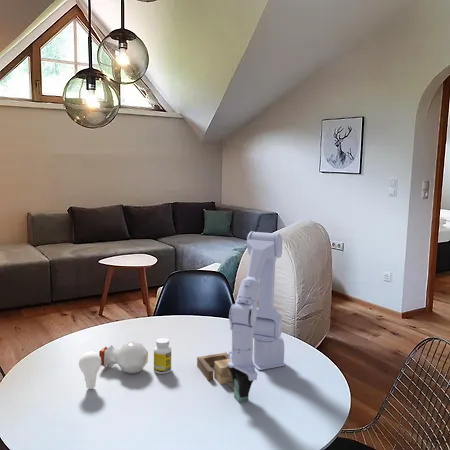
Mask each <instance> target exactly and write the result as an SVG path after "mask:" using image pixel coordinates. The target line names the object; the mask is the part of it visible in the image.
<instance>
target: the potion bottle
mask: <svg viewBox="0 0 450 450" xmlns="http://www.w3.org/2000/svg"><path fill="white" fill-rule="evenodd" d="M98 355H99V356H100V358H101V367H104V368H106V367H108V368H110V369H112V367H114V365H118V366H119V368H120V369H121V371H122V372H125V373H127V374H131V375H133V374H136V373H140V372H141V371H143V369H144V368H145V367H146V365H147V364H148V362H149V352H148V350H147V348H146V347H145V345H144V344H142V343H140V342H137V341H130V342H127V343H124V344H122V346H121V348H120V349H116V348H115V347H114V345H110V346H109V347H108V346H105V347H103V348H101V349H100V350H99V353H98Z"/></svg>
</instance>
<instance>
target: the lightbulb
mask: <svg viewBox="0 0 450 450" xmlns="http://www.w3.org/2000/svg"><path fill="white" fill-rule="evenodd" d="M78 367H79V370H80V371H81V372H82V374H83V376H84V381H85V387H86V389H89V390H93V389H94V388H95V387H96V383H97V382H96V381H97V375H98V372H99V370H100V368H101V367H102V365H101V358H100V356H99V353H98V352H95V351H87V352H85V353H83V354H82V355H81V356H80V358H79V361H78Z"/></svg>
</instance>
